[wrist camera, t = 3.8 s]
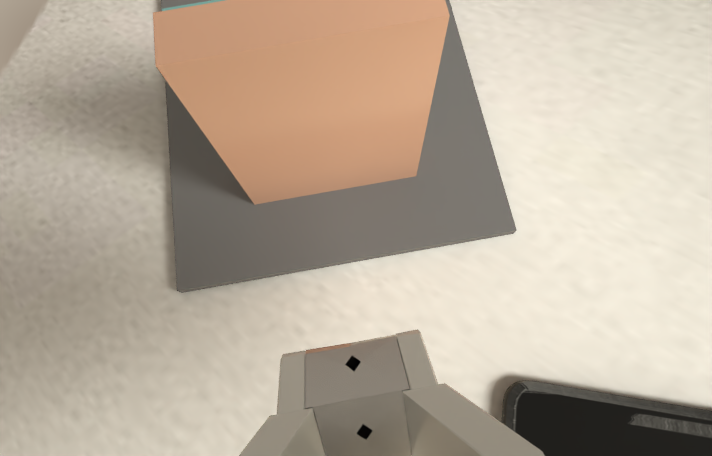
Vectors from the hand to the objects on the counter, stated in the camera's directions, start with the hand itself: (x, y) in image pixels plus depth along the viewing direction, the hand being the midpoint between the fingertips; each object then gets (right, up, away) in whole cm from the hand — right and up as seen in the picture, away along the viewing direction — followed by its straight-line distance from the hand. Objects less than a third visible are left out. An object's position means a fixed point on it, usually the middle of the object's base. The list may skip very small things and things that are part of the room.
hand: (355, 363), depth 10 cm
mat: (-2, +11, +18) cm, 21 cm away
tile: (-1, +6, +16) cm, 17 cm away
